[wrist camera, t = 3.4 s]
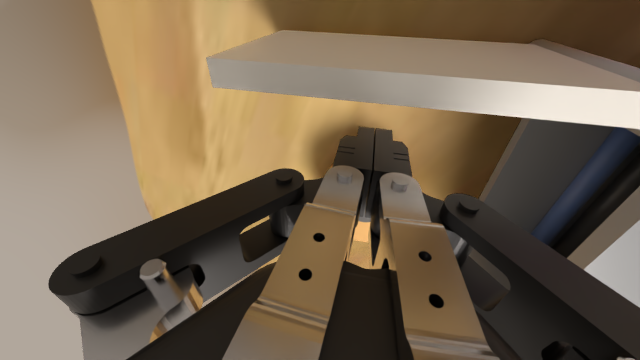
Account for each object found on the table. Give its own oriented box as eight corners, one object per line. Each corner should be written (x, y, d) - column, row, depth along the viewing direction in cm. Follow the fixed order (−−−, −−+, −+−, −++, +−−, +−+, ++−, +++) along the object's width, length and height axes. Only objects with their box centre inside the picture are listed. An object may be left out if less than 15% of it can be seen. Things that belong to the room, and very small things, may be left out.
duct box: (770, 80, 12) (1294, 201, 5) (581, 257, 21) (681, 394, 14) (550, 65, 14) (725, 144, 7) (458, 236, 22) (491, 350, 15)
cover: (557, 40, 13) (737, 90, 6) (542, 68, 14) (686, 140, 7) (284, 25, 15) (204, 51, 9) (286, 50, 16) (214, 92, 9)
